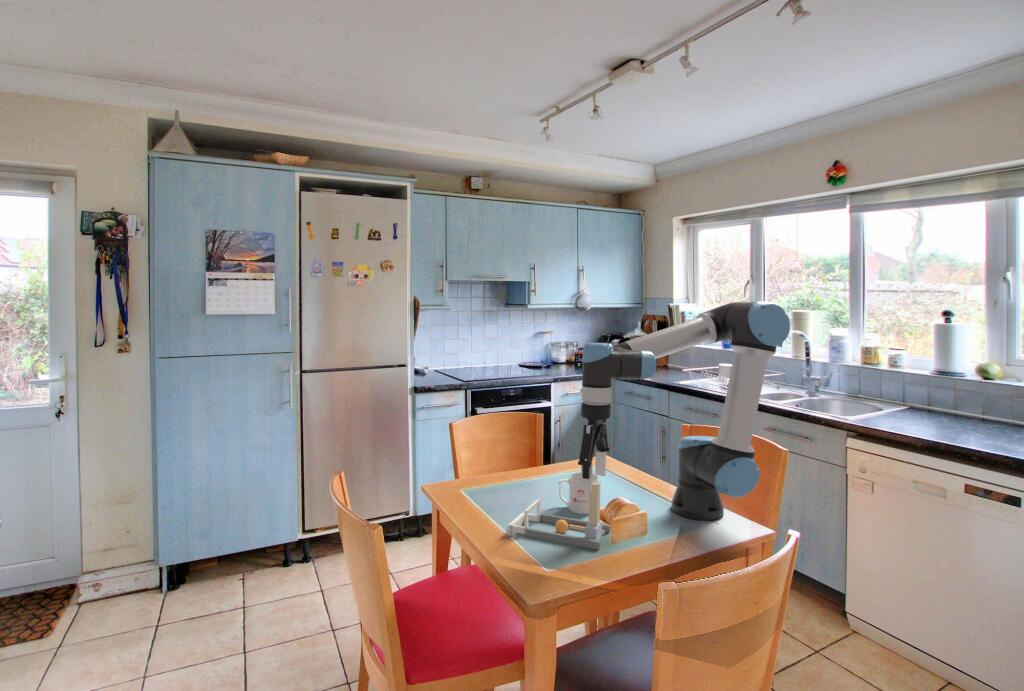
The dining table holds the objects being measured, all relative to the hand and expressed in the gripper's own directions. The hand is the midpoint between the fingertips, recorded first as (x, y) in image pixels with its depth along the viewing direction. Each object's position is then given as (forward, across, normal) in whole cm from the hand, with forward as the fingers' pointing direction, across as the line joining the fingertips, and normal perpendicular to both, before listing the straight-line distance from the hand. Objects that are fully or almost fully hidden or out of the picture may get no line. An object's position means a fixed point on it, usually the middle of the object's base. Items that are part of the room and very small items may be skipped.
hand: (593, 482), depth 143 cm
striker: (+15, 0, 0) cm, 15 cm away
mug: (+17, -19, -10) cm, 27 cm away
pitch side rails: (+16, 0, -7) cm, 18 cm away
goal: (+17, 0, -20) cm, 26 cm away
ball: (+14, 0, -9) cm, 16 cm away
